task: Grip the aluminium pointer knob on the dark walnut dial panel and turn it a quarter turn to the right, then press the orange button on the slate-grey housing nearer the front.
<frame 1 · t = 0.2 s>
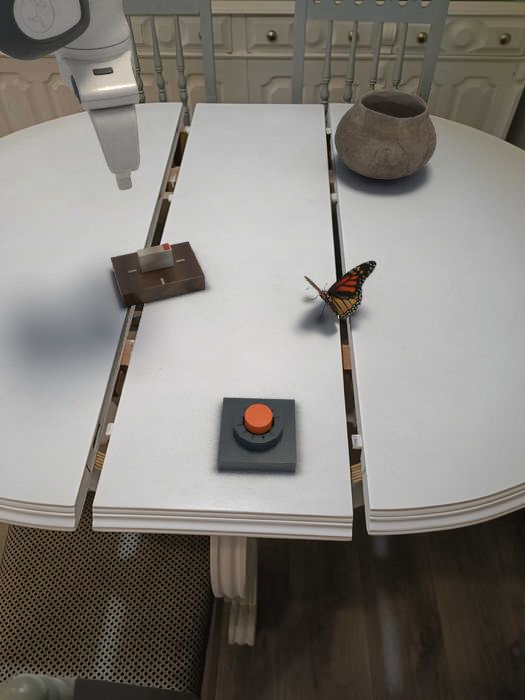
hand: (118, 169, 73), 23 cm above the table, tool pointing down, fingers open, 8 cm apart
orange button: (258, 418, 69), point 5 cm above the table, slide at 0.2 cm
dial knob: (155, 257, 89), point 5 cm above the table, hinge at 0.0°
butterfly: (329, 311, 89), on the table
button box: (257, 437, 72), on the table
clay pot: (378, 169, 119), on the table
dial panel: (159, 279, 93), on the table
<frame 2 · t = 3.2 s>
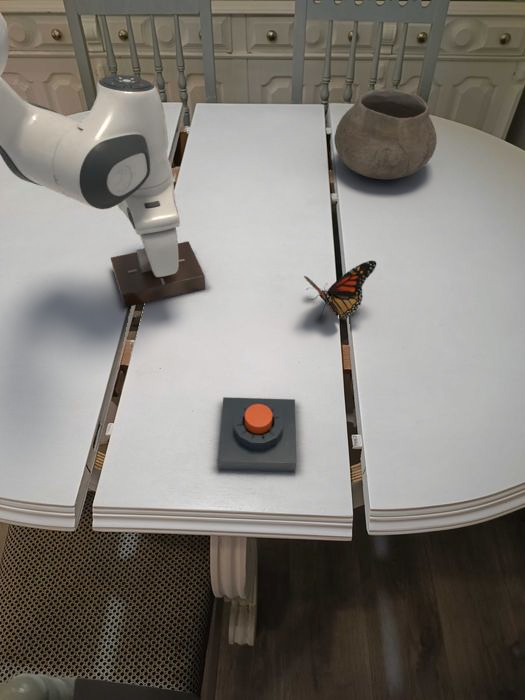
hand: (156, 262, 90), 4 cm above the table, tool pointing down, fingers closed on dial knob, 2 cm apart
dial knob: (155, 257, 89), point 5 cm above the table, hinge at 0.0°, touching gripper
everything else where it was.
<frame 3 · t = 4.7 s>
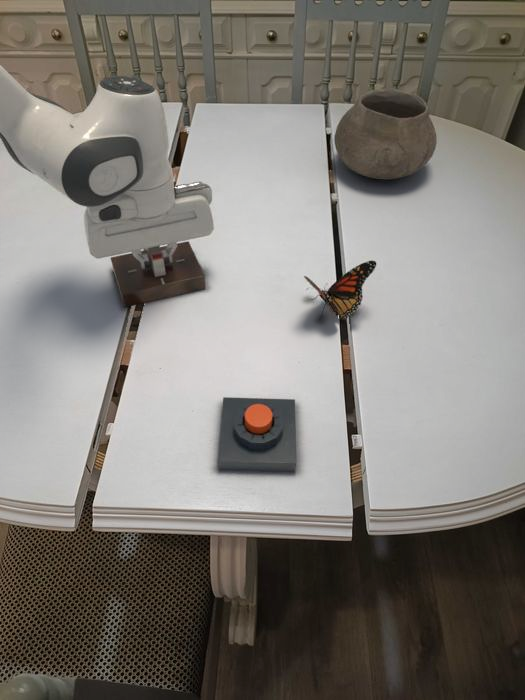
hand: (156, 263, 90), 4 cm above the table, tool pointing down, fingers closed
dial knob: (155, 257, 89), point 5 cm above the table, hinge at -89.9°
everything else where it was.
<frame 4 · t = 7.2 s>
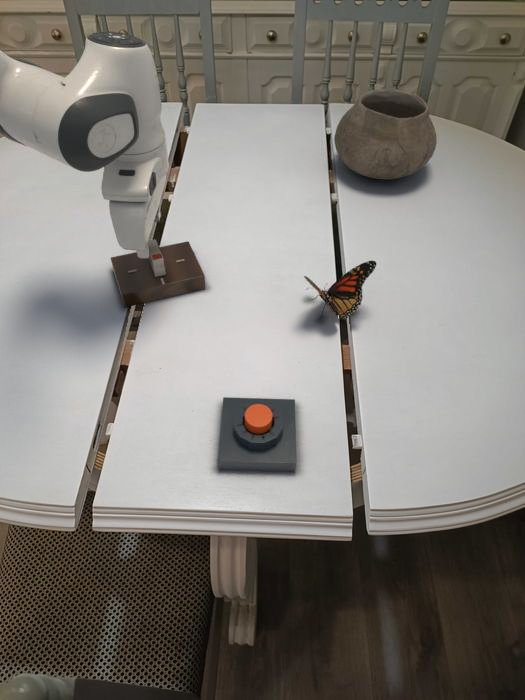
hand: (150, 237, 87), 9 cm above the table, tool pointing down, fingers open, 8 cm apart
nothing on the table moved.
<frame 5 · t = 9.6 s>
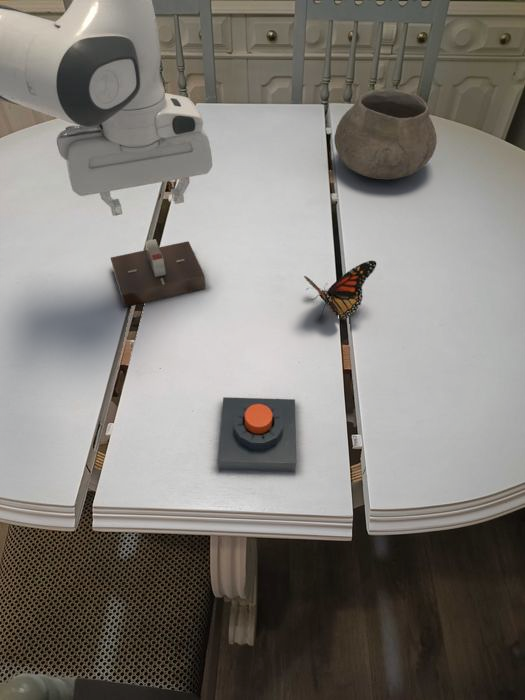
hand: (148, 207, 81), 15 cm above the table, tool pointing down, fingers open, 8 cm apart
nothing on the table moved.
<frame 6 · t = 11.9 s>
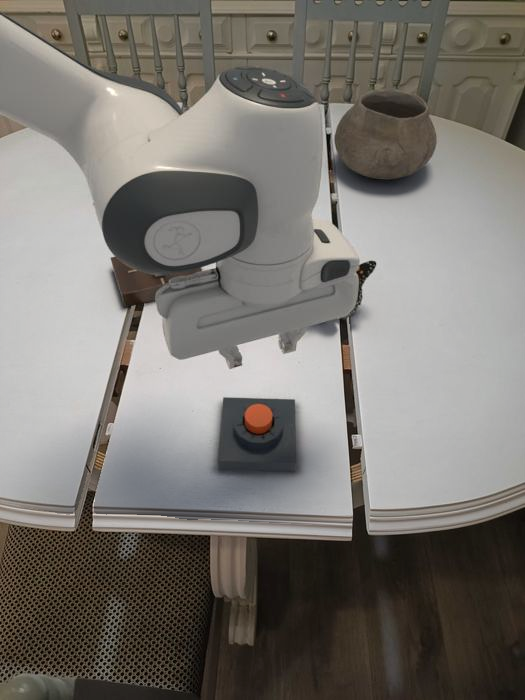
hand: (260, 355, 60), 17 cm above the table, tool pointing down, fingers open, 5 cm apart
nothing on the table moved.
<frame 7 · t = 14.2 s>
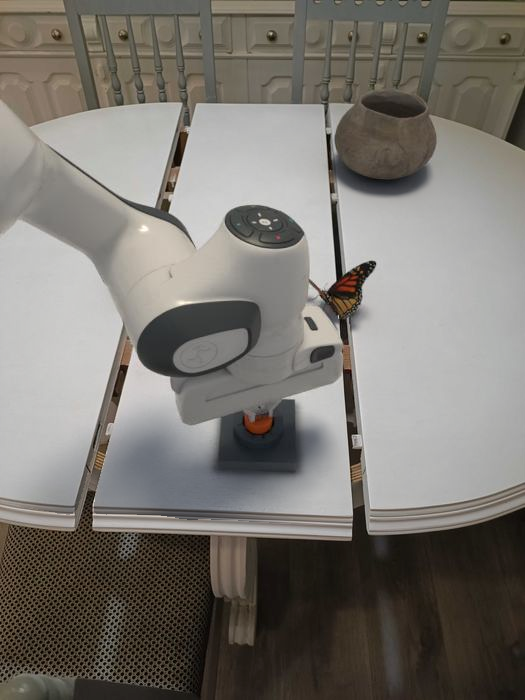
hand: (259, 415, 68), 5 cm above the table, tool pointing down, fingers closed, pressing on orange button
orange button: (258, 418, 69), point 5 cm above the table, slide at 0.1 cm, touching gripper
everything else where it was.
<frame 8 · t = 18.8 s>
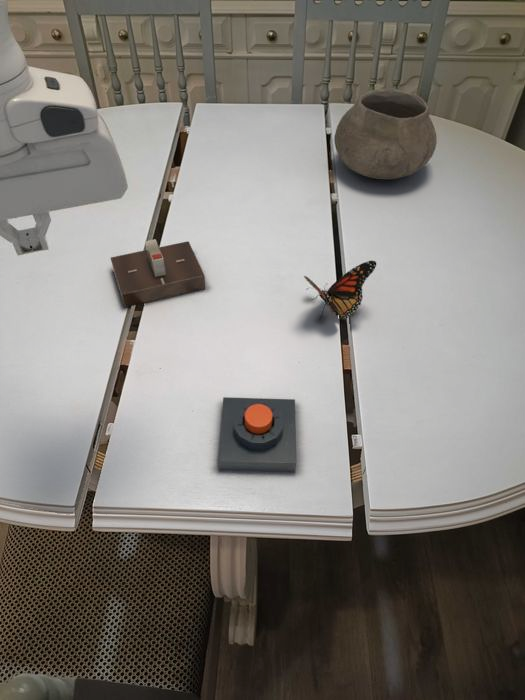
hand: (33, 249, 52), 29 cm above the table, tool pointing down, fingers closed
orange button: (258, 418, 69), point 5 cm above the table, slide at 0.1 cm
everything else where it was.
at the end: dial knob at -90° (first picture: +0°); orange button pushed in 1.0 cm at the most during the clip, back to where it started at the end; orange button slide at 0.1 cm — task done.
